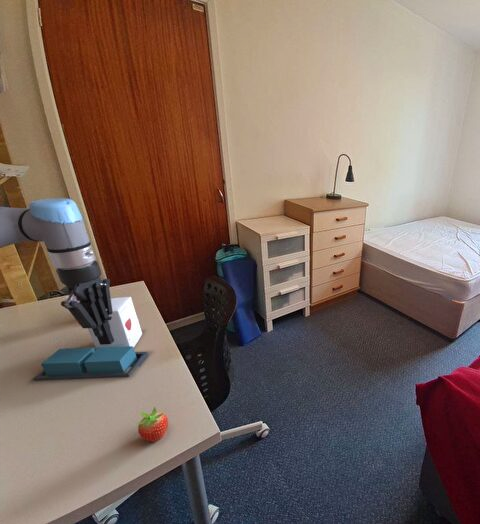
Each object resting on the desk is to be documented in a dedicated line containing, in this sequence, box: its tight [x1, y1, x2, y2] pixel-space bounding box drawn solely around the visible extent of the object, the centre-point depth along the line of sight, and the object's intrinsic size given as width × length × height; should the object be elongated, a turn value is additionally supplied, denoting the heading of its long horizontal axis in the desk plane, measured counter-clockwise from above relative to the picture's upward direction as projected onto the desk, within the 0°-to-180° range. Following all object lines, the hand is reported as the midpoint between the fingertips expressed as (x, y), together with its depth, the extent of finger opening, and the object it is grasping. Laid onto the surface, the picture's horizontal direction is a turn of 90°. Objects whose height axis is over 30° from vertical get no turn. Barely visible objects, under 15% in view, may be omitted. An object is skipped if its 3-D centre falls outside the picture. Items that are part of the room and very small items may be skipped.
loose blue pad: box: [84, 346, 137, 374], centre depth 79 cm, size 9×6×5 cm, turn 96°
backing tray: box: [32, 351, 149, 382], centre depth 80 cm, size 24×9×2 cm, turn 95°
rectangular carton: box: [87, 296, 143, 351], centre depth 87 cm, size 9×9×15 cm
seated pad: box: [40, 347, 96, 376], centre depth 78 cm, size 9×6×5 cm, turn 95°
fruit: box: [136, 406, 169, 442], centre depth 61 cm, size 5×5×8 cm
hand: (107, 342), depth 77 cm, fingers closed
